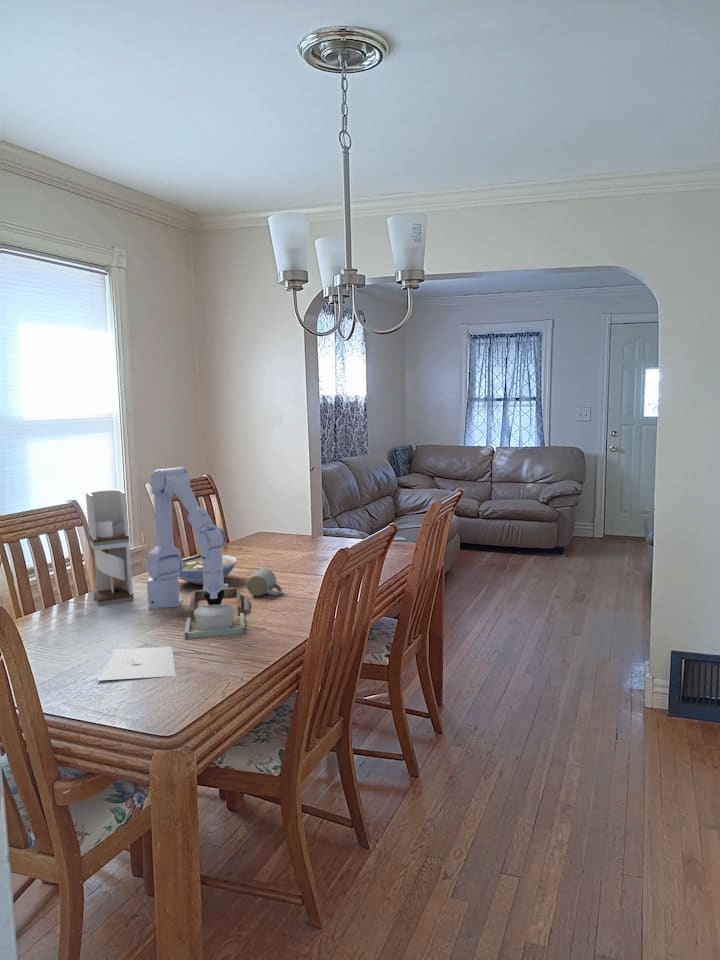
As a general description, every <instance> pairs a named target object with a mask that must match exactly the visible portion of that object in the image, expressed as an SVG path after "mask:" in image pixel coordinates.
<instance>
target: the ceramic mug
mask: <svg viewBox="0 0 720 960" xmlns="http://www.w3.org/2000/svg"><path fill="white" fill-rule="evenodd" d="M246 587H247V591H248V592H249V593H250V594H251V595H252V596H255V597H261V596H264V595H266V594H269V595H271V596H280V595H282V593H283V589H282V587H281V586H280V585H279V584H278V583H277V578H276V575H275V573H274V572H273V571H272V570H270V569H268V568H265V567H264V568H263V567H262V568H260V569H258V570H257V571H255V573H253V574H252V575H251V576H250V577H249V578H248V581H247V582H246ZM274 589H275V590H277V591H275V590H274Z"/></svg>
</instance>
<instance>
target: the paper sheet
mask: <svg viewBox="0 0 720 960" xmlns="http://www.w3.org/2000/svg"><path fill="white" fill-rule="evenodd" d="M175 669H176V668H175V661H174V653H173V647H172V646H161V647H159V646H158V647H143V648H142V647H138V648H137V647H135V648H121V649H120V648H116V649H115V650H114V651H113V653H112V655H111V656H110V658H109V660H108V662H107V664H106V665H105V667H104V668H103V669H102V671H101V673H100V675H99V676H98V678H97V680H96V681H109V680H111V681H112V680H128V679H129V680H130V679H146V678H160V677H161V678H163V677H176V670H175Z"/></svg>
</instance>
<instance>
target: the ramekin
mask: <svg viewBox="0 0 720 960" xmlns="http://www.w3.org/2000/svg"><path fill="white" fill-rule="evenodd" d="M235 611H236V609H235V607H234V606H233V605H230V604H224V603H221V604H215V605H208V604H207V605H203V606H200V607H197V608H195V609H194V617H195V622H196V626H197V629H198V631H203V630H215V629H226V628H232V626H233V624H234V615H235Z"/></svg>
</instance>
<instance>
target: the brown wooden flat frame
mask: <svg viewBox="0 0 720 960" xmlns="http://www.w3.org/2000/svg"><path fill="white" fill-rule="evenodd" d="M240 589H241V588H240V587H239V586H235V587H227V588H223V589H222V590H224V596H223V598H225V597H236V603H237V605H236V606H237V615H238V616H240V613H243V611H242V602H241V601H242V599H241V591H240ZM205 592H206V591H205V590H204V589H200V590H199V589H198V590H197V589H196V590H192V591H191V596H190V597H191V598H190V602H189V603H190V604H189V610H188V615H189V617H188V618H190V617H191V620H194V617H195V615H194V611H195V610H196V608H195V607H196V600H201V599H202V600H203V599H205V597H204V593H205Z"/></svg>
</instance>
